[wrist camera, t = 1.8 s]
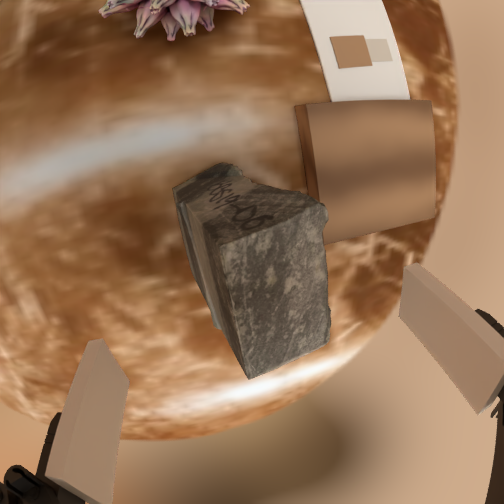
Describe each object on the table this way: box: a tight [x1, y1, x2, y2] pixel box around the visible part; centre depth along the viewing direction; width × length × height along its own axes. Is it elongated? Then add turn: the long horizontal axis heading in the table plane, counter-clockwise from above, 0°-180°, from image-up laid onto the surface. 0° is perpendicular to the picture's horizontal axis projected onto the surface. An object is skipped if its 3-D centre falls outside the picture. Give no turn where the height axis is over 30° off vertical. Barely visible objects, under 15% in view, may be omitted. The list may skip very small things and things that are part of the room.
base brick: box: [295, 100, 436, 245], centre depth 24 cm, size 12×13×3 cm
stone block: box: [172, 163, 331, 380], centre depth 19 cm, size 9×14×5 cm
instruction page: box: [299, 0, 410, 102], centre depth 21 cm, size 12×9×1 cm
